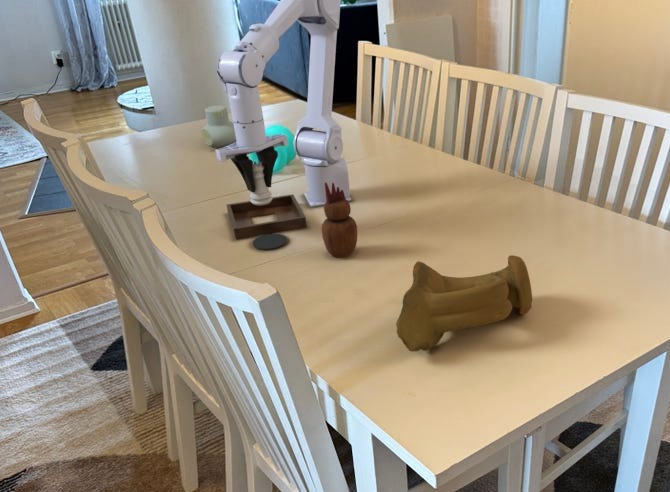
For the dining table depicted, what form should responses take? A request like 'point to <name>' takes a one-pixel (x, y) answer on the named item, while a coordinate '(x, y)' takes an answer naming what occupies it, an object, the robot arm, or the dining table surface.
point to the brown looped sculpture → (459, 302)
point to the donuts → (280, 147)
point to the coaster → (270, 241)
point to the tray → (280, 206)
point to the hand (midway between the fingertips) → (259, 188)
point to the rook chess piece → (260, 186)
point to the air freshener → (218, 127)
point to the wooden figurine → (338, 224)
